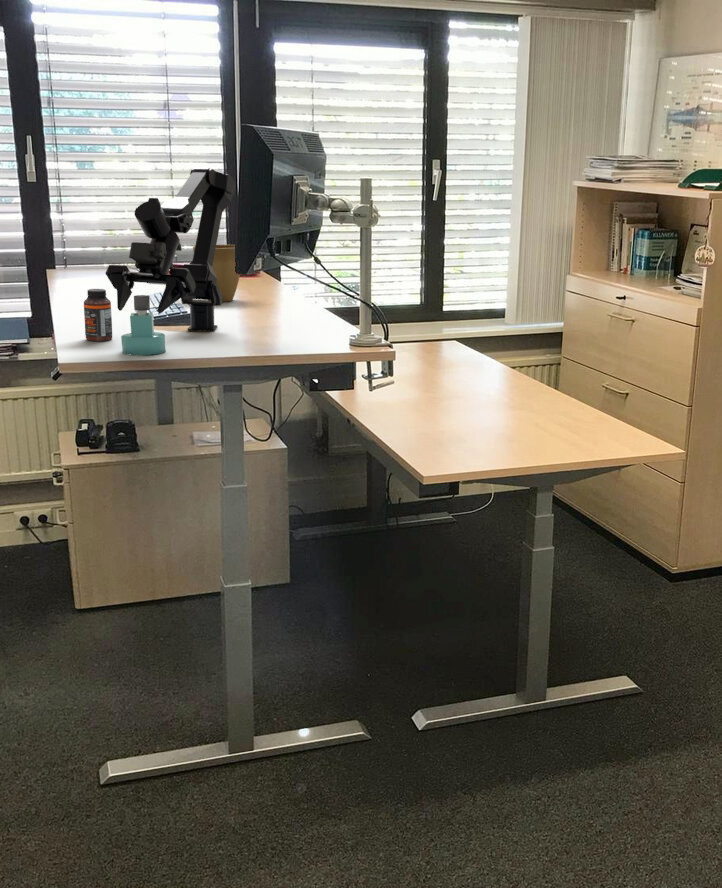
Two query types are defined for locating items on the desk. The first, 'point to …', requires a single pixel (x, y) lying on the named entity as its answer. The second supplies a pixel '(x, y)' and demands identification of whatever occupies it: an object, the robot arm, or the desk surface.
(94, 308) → the supplement bottle
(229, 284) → the plant pot
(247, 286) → the desk surface
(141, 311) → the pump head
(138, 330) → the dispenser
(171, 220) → the robot arm
